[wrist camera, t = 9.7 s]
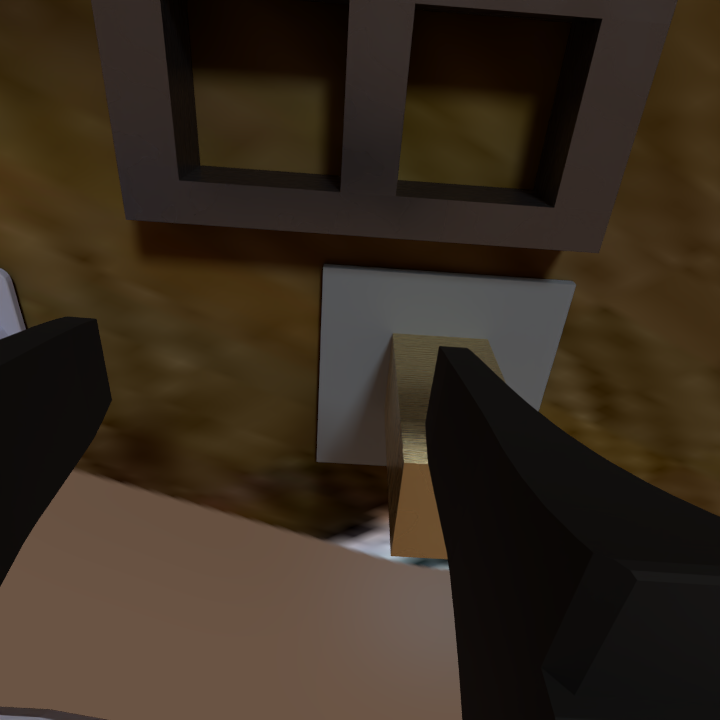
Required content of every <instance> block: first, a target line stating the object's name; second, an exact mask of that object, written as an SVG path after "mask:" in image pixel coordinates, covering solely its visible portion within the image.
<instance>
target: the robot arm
mask: <svg viewBox="0 0 720 720" xmlns="http://www.w3.org/2000/svg"><path fill="white" fill-rule="evenodd" d="M111 401H112V398H111V393H110V387H109V382H108V377H107V372H106V366H105V361H104V356H103V351H102V345H101V340H100V335H99V330H98V324H97V319H91V318H78V317H63V318H59V319H55V320H52V321H49V322H46V323H43V324H40V325H37V326H34V327H31V328H29V329H26V328H25V325H24V321H23V318H22V314H21V311H20V307H19V304H18V300H17V297H16V293H15V290H14V286H13V283H12V280H11V278H10V276H9V274H8V273H7V272H6V271H4V270H3V269H1V268H0V586H1V584H2V582H3V580H4V579H5V577H6V575H7V573H8V571H9V569H10V567H11V566H12V564H13V562H14V560H15V558H16V556H17V554H18V552H19V551H20V549H21V547H22V545H23V543H24V542H25V540H26V539H27V537H28V535H29V534H30V532H31V530H32V529H33V527H34V526H35V524H36V522H37V521H38V519H39V518H40V517H41V515H42V514H43V512H44V511H45V509H46V508H47V507H48V505H49V504H50V502H51V500H52V499H53V498H54V496H55V495H56V494H57V492H58V490H59V489H60V488H61V486H62V485H63V483H64V482H65V480H66V479H67V477H68V476H69V475H70V473H71V472H72V470H73V469H74V467H75V466H76V464H77V463H78V461H79V460H80V458H81V457H82V455H83V454H84V452H85V451H86V449H87V448H88V446H89V445H90V443H91V442H92V440H93V439H94V437H95V435H96V433H97V431H98V429H99V427H100V425H101V423H102V421H103V419H104V416H105V414H106V412H107V410H108V407H109V405H110V403H111ZM425 430H426V446H427V459H428V466H429V471H430V476H431V481H432V485H433V490H434V495H435V500H436V504H437V509H438V514H439V519H440V523H441V528H442V533H443V537H444V542H445V547H446V552H447V558H448V564H449V570H450V579H451V589H452V599H453V608H454V618H455V630H456V641H457V653H458V665H459V678H460V691H461V705H462V719H463V720H720V517H719V516H717V515H714V514H712V513H710V512H708V511H705V510H703V509H701V508H699V507H697V506H695V505H692V504H690V503H688V502H686V501H684V500H682V499H679V498H677V497H675V496H673V495H671V494H669V493H667V492H665V491H663V490H661V489H659V488H657V487H655V486H653V485H651V484H649V483H647V482H645V481H644V480H642V479H640V478H638V477H636V476H635V475H633V474H631V473H629V472H627V471H626V470H624V469H622V468H620V467H618V466H617V465H615V464H613V463H611V462H610V461H608V460H606V459H605V458H603V457H602V456H600V455H598V454H597V453H595V452H594V451H592V450H591V449H589V448H588V447H586V446H585V445H583V444H582V443H580V442H579V441H577V440H576V439H574V438H573V437H571V436H570V435H568V434H567V433H565V432H564V431H563V430H561V429H560V428H559V427H557V426H556V425H555V424H553V423H552V422H551V421H549V420H548V419H547V418H546V417H544V416H543V415H542V414H541V413H539V412H538V411H537V410H536V409H534V408H533V407H532V406H531V405H530V404H529V403H527V402H526V401H525V400H524V399H523V398H522V397H520V396H519V395H518V394H517V393H516V392H515V391H514V390H513V389H511V388H510V387H509V386H508V385H507V384H506V383H505V382H504V381H503V380H502V379H501V378H500V377H499V376H497V375H496V374H495V373H494V372H493V371H492V370H491V369H490V368H489V367H488V366H487V365H486V364H485V363H484V362H483V361H482V360H481V359H480V358H479V357H478V356H476V355H475V354H474V353H473V352H472V351H471V350H470V349H468V348H461V347H449V346H439V349H438V355H437V360H436V366H435V371H434V377H433V382H432V388H431V393H430V399H429V404H428V409H427V415H426V420H425ZM0 720H106V719H100V718H94V717H89V716H83V715H78V714H73V713H67V712H62V711H56V710H50V709H33V708H14V707H0Z"/></svg>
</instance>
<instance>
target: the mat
mask: <svg viewBox="0 0 720 720" xmlns="http://www.w3.org/2000/svg"><path fill="white" fill-rule="evenodd" d="M575 287H576V284H575V283H574V282H573V281H565V280H551V279H536V278H522V277H508V276H493V275H479V274H464V273H450V272H436V271H421V270H407V269H393V268H378V267H364V266H349V265H335V264H324V266H323V288H322V317H321V347H320V376H319V405H318V434H317V462H329V463H346V464H362V465H379V466H387V460H386V438H385V416H384V408H385V399H386V390H387V381H388V372H389V363H390V354H391V345H392V336H393V333H399V334H414V335H429V336H445V337H460V338H475V339H488V341H489V343H490V346H491V348H492V351H493V353H494V356H495V358H496V360H497V363H498V365H499V368H500V370H501V372H502V375H503V377H504V380H505V382H506V384H507V385H508V386H509V387H510V388H511V389H513V390H514V391H515V392H516V393H517V394H518V395H519V396H520V397H522V398H523V399H524V400H525V401H526V402H527V403H529V404H530V405H531V406H532V407H533V408H534V409H536V410H537V411H539V408H540V404H541V401H542V397H543V394H544V391H545V387H546V384H547V381H548V377H549V374H550V371H551V367H552V364H553V361H554V357H555V354H556V351H557V347H558V344H559V340H560V337H561V334H562V330H563V327H564V324H565V320H566V317H567V314H568V310H569V307H570V304H571V300H572V297H573V293H574V290H575Z"/></svg>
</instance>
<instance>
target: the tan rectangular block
mask: <svg viewBox="0 0 720 720" xmlns="http://www.w3.org/2000/svg"><path fill="white" fill-rule="evenodd" d="M439 346H449V347H461V348H468V349H470V350H471V351H472V352H473V353H474V354H475V355H476V356H478V357H479V358H480V359H481V360H482V361H483V362H484V363H485V364H486V365H487V366H488V367H489V368H490V369H491V370H492V371H493V372H494V373H495V374H496V375H497V376H499V377H500V378H501V379H502V380H503V381H504V382H505V380H504V377H503V375H502V372H501V370H500V368H499V365H498V363H497V360H496V358H495V356H494V353H493V351H492V348H491V346H490V343H489V341H488V339H475V338H460V337H445V336H429V335H414V334H399V333H393V336H392V345H391V354H390V363H389V372H388V381H387V390H386V399H385V408H384V416H385V438H386V460H387V482H388V504H389V527H390V549H391V556H401V557H419V558H437V559H448V558H447V552H446V547H445V542H444V537H443V533H442V528H441V523H440V519H439V514H438V509H437V504H436V500H435V495H434V490H433V485H432V481H431V476H430V471H429V466H428V459H427V446H426V430H425V420H426V415H427V409H428V404H429V399H430V393H431V388H432V382H433V377H434V371H435V366H436V360H437V355H438V349H439ZM505 383H506V382H505Z"/></svg>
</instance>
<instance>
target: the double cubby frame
mask: <svg viewBox="0 0 720 720" xmlns="http://www.w3.org/2000/svg"><path fill="white" fill-rule="evenodd" d="M301 1H313V2H325V3H338V4H349V24H348V45H347V66H346V86H345V107H344V128H343V149H342V170H341V176H335V175H321V174H307V173H294V172H280V171H267V170H253V169H240V168H226V167H212V166H200V157H199V145H198V133H197V121H196V109H195V97H194V85H193V73H192V61H191V49H190V37H189V25H188V12H187V0H91V2H92V9H93V15H94V21H95V27H96V34H97V40H98V46H99V53H100V59H101V65H102V71H103V78H104V84H105V90H106V97H107V103H108V109H109V115H110V122H111V128H112V134H113V140H114V147H115V153H116V159H117V166H118V172H119V178H120V184H121V191H122V197H123V203H124V209H125V216H126V220H140V221H154V222H168V223H182V224H196V225H210V226H224V227H238V228H252V229H266V230H281V231H295V232H309V233H323V234H337V235H351V236H365V237H379V238H393V239H407V240H422V241H436V242H450V243H464V244H478V245H492V246H506V247H520V248H534V249H548V250H563V251H577V252H591V253H599V251H600V248H601V244H602V241H603V238H604V235H605V232H606V228H607V225H608V222H609V219H610V216H611V212H612V209H613V206H614V203H615V200H616V196H617V193H618V190H619V187H620V183H621V180H622V177H623V174H624V171H625V167H626V164H627V161H628V158H629V155H630V151H631V148H632V145H633V142H634V139H635V135H636V132H637V129H638V126H639V122H640V119H641V116H642V113H643V110H644V106H645V103H646V100H647V97H648V94H649V90H650V87H651V84H652V81H653V78H654V74H655V71H656V68H657V65H658V61H659V58H660V55H661V52H662V49H663V45H664V42H665V39H666V36H667V33H668V29H669V26H670V23H671V20H672V16H673V13H674V10H675V7H676V4H677V0H301ZM415 10H424V11H436V12H448V13H461V14H473V15H485V16H498V17H510V18H522V19H534V20H547V21H559V22H571V23H572V26H571V30H570V34H569V39H568V43H567V47H566V52H565V56H564V60H563V65H562V69H561V73H560V78H559V82H558V86H557V91H556V95H555V99H554V104H553V108H552V112H551V117H550V121H549V125H548V130H547V134H546V138H545V143H544V147H543V151H542V156H541V160H540V164H539V169H538V173H537V177H536V182H535V186H534V190H525V189H511V188H498V187H484V186H471V185H457V184H443V183H430V182H416V181H403V180H397V179H398V170H399V160H400V150H401V140H402V130H403V120H404V110H405V100H406V90H407V81H408V71H409V61H410V51H411V41H412V31H413V21H414V11H415Z"/></svg>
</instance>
